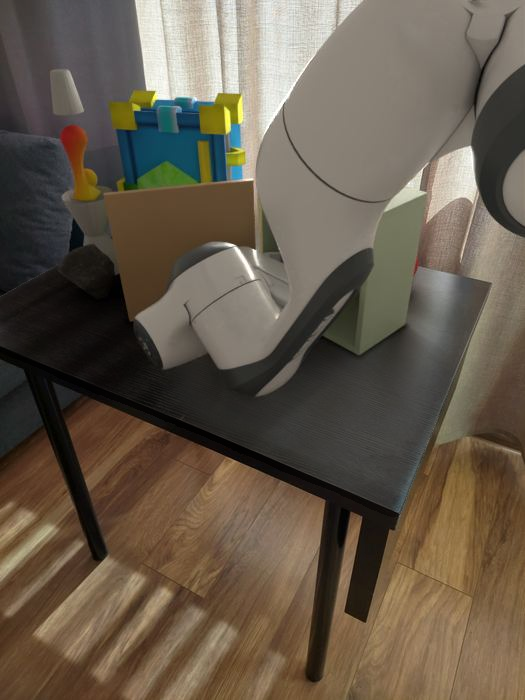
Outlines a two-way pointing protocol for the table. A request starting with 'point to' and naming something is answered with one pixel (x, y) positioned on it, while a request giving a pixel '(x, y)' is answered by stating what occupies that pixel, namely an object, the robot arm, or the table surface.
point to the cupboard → (376, 274)
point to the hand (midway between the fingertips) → (311, 265)
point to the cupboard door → (173, 230)
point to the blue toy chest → (178, 140)
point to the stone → (89, 270)
